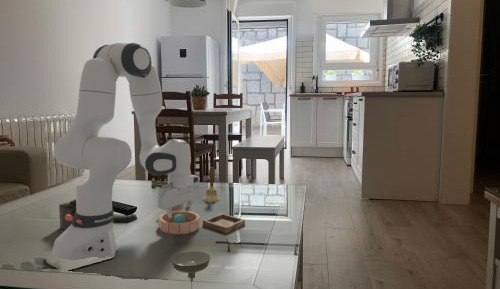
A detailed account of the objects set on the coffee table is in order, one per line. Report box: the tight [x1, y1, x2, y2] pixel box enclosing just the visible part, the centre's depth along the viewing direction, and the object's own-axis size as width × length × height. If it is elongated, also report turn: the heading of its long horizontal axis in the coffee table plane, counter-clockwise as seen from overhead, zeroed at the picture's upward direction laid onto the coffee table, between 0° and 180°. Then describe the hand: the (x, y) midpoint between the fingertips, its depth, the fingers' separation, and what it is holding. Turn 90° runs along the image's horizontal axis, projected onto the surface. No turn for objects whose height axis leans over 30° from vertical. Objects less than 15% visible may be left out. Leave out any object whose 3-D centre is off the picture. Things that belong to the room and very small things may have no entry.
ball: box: [174, 214, 185, 223], centre depth 165 cm, size 4×4×4 cm
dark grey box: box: [58, 185, 79, 231], centre depth 157 cm, size 16×11×18 cm
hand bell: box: [202, 166, 221, 203], centre depth 200 cm, size 8×8×16 cm
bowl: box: [158, 210, 201, 235], centre depth 165 cm, size 16×16×4 cm
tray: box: [202, 212, 246, 234], centre depth 168 cm, size 12×12×2 cm
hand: (179, 214), depth 166 cm, fingers open, 8 cm apart
